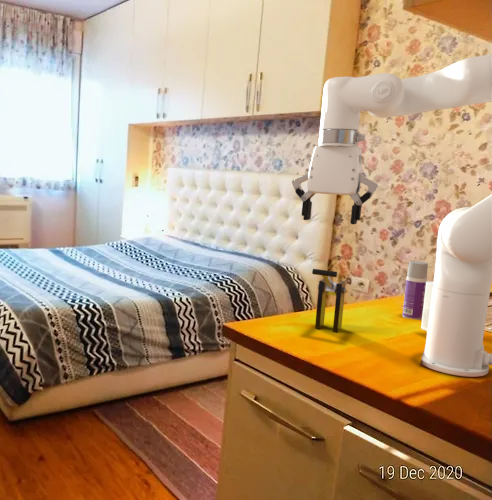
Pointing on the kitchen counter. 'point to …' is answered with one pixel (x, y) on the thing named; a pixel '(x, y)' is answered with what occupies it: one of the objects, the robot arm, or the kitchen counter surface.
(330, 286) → the lever
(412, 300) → the container
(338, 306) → the bracket
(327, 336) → the kitchen counter surface
